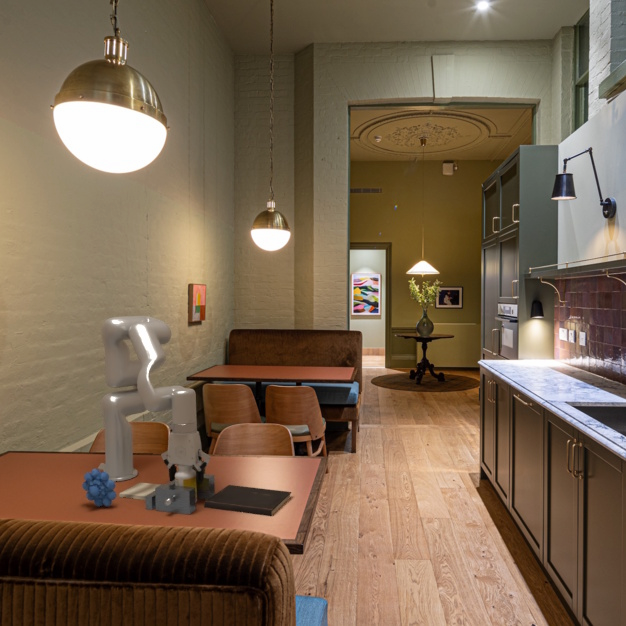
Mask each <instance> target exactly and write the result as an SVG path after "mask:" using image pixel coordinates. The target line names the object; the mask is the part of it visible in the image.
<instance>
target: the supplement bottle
mask: <svg viewBox="0 0 626 626" xmlns="http://www.w3.org/2000/svg"><path fill="white" fill-rule="evenodd" d="M192 467H193V465H192V466H188V465H177V469H178V470H177V472H176V473H175V486H184V487H194V488H195V494H196V503H197V502H198V499H197V486H196V472H195V470H193V469H192Z"/></svg>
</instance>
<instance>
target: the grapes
mask: <svg viewBox="0 0 626 626" xmlns="http://www.w3.org/2000/svg"><path fill="white" fill-rule="evenodd" d="M83 477H84V479H83V480H85V481H84V482H83V483H82V489H83V490H84V491H86V492H85V493H86V495H85V498H86V499H87V500H88V501H91V502H92V501H93V503H94V505H95V507H98V508H101V507H103V506H105V507H110V506H111V505H112V502H113V501H114V500H115V499H116V498H117V493H116V491H115V488H116V483H115V482H114V481H112V480H109V475H108V473H106V472H103V471H101V470H98V468H92V470H91V472H89V471H88V472H85V474H84V476H83ZM100 506H101V507H100Z"/></svg>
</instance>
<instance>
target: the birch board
mask: <svg viewBox="0 0 626 626" xmlns="http://www.w3.org/2000/svg"><path fill="white" fill-rule="evenodd" d="M159 485H160V484H158V483H149V482H140V481H139V482H138V483H136V484H134V485H133V486H130V487H129V488H126V489H125V490H123V491H121V492H119V494H118V497H119V498H123V497H126V498H125V499H132V498H133V499H134V500H141V501H145V496H147V495H148V494H150V493H152V492H153V491H155V488H156V487H158V486H159Z"/></svg>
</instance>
